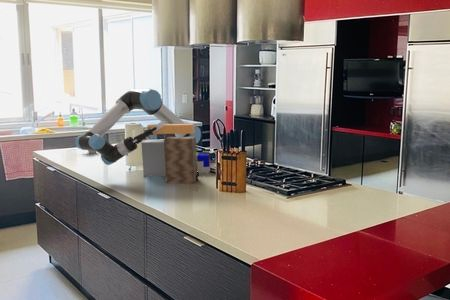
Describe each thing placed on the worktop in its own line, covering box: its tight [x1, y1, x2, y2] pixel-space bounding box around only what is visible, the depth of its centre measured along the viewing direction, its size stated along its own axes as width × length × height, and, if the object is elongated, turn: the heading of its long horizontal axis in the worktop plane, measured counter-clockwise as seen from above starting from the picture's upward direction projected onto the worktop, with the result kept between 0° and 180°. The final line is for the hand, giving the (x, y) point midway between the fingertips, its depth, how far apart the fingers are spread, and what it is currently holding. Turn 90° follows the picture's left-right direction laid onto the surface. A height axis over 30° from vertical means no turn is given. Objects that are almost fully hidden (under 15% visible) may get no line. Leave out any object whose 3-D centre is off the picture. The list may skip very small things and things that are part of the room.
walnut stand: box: [163, 137, 198, 184], centre depth 251 cm, size 15×9×23 cm, turn 82°
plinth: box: [140, 139, 166, 177], centre depth 268 cm, size 16×9×19 cm, turn 82°
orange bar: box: [147, 123, 195, 135], centre depth 248 cm, size 24×4×4 cm, turn 82°
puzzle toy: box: [196, 151, 211, 174], centre depth 274 cm, size 10×10×10 cm
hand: (163, 123), depth 248 cm, fingers closed on orange bar, 4 cm apart
